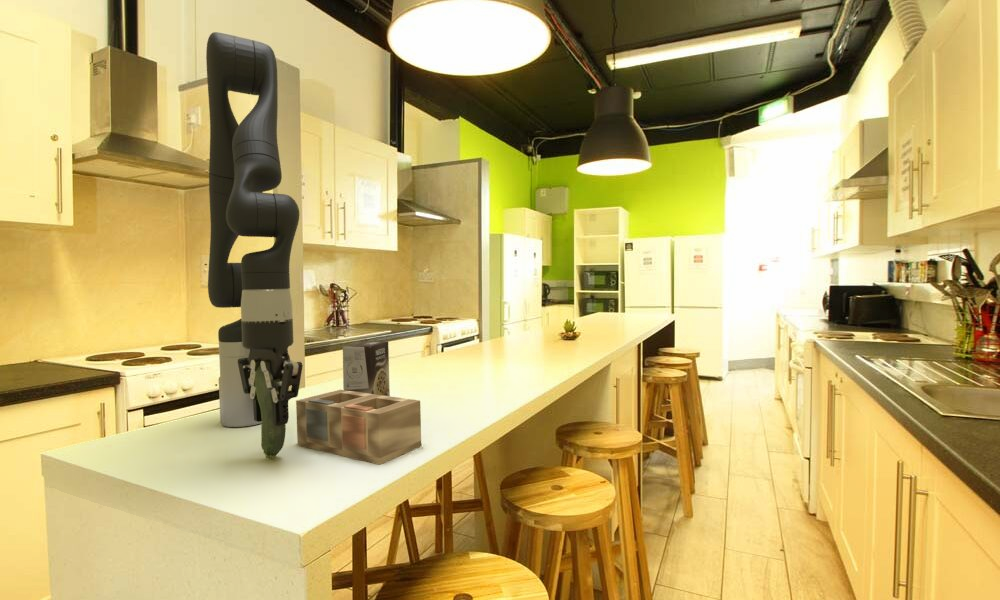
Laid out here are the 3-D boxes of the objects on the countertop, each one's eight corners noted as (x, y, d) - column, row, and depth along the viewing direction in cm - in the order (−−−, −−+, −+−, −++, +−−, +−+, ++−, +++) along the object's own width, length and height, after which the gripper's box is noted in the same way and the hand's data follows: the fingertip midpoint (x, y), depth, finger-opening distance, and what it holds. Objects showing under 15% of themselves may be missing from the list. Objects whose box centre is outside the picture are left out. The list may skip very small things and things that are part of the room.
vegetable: (293, 457, 83) (289, 336, 82) (273, 466, 79) (268, 340, 78) (271, 454, 85) (267, 336, 84) (251, 463, 81) (246, 339, 80)
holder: (296, 445, 89) (294, 399, 89) (341, 430, 98) (340, 388, 98) (378, 465, 79) (377, 412, 79) (421, 446, 88) (420, 398, 87)
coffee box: (372, 426, 100) (370, 346, 100) (343, 425, 102) (340, 345, 101) (391, 414, 109) (389, 340, 109) (364, 413, 111) (362, 340, 110)
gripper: (219, 318, 82) (223, 422, 82) (274, 320, 74) (278, 435, 75) (261, 315, 88) (265, 412, 89) (316, 316, 81) (319, 422, 81)
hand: (271, 422), depth 82 cm, fingers open, 4 cm apart
